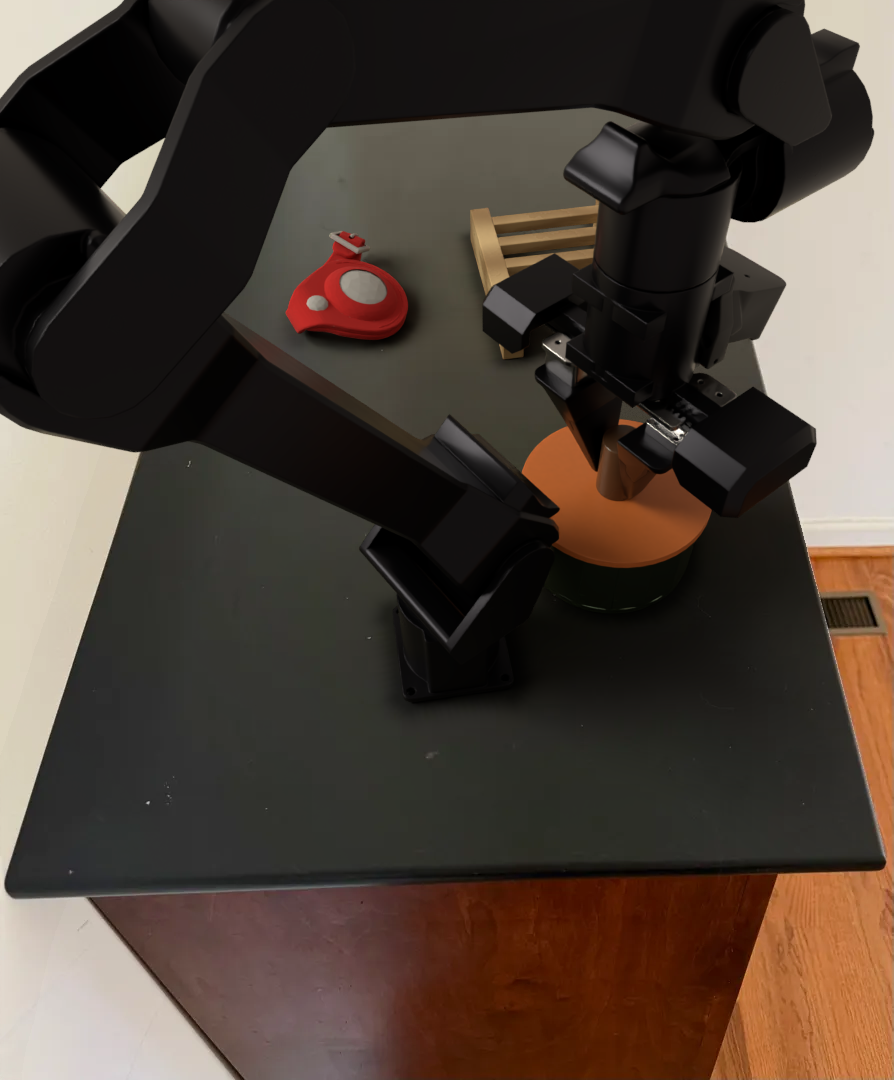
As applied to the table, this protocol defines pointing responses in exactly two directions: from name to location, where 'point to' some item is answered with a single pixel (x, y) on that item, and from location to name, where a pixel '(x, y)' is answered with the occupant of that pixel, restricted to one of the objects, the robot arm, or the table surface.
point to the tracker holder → (348, 295)
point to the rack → (529, 242)
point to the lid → (613, 504)
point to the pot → (613, 583)
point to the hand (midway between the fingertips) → (616, 480)
